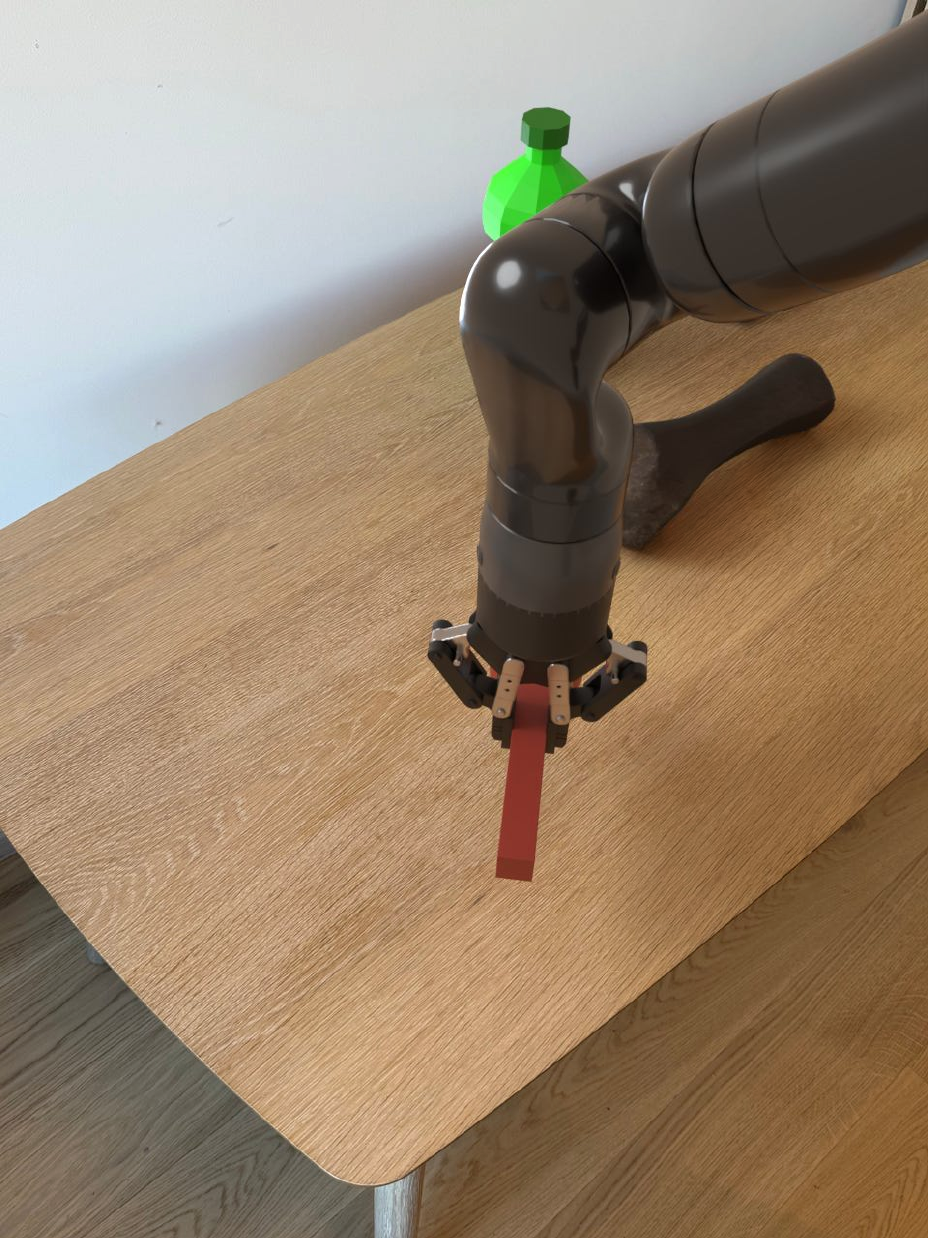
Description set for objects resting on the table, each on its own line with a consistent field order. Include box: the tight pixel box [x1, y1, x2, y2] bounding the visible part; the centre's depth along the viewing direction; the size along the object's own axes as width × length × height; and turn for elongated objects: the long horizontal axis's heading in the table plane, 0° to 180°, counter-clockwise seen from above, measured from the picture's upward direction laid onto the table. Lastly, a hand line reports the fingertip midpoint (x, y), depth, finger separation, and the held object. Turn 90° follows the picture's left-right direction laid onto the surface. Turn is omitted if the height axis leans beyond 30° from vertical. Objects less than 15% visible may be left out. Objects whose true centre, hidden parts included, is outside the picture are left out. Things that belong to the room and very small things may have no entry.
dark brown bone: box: [621, 352, 837, 551], centre depth 100 cm, size 11×10×28 cm
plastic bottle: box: [482, 106, 590, 242], centre depth 104 cm, size 10×10×25 cm
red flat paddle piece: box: [489, 665, 583, 883], centre depth 71 cm, size 19×6×3 cm, turn 173°
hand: (528, 739), depth 72 cm, fingers closed on red flat paddle piece, 2 cm apart
